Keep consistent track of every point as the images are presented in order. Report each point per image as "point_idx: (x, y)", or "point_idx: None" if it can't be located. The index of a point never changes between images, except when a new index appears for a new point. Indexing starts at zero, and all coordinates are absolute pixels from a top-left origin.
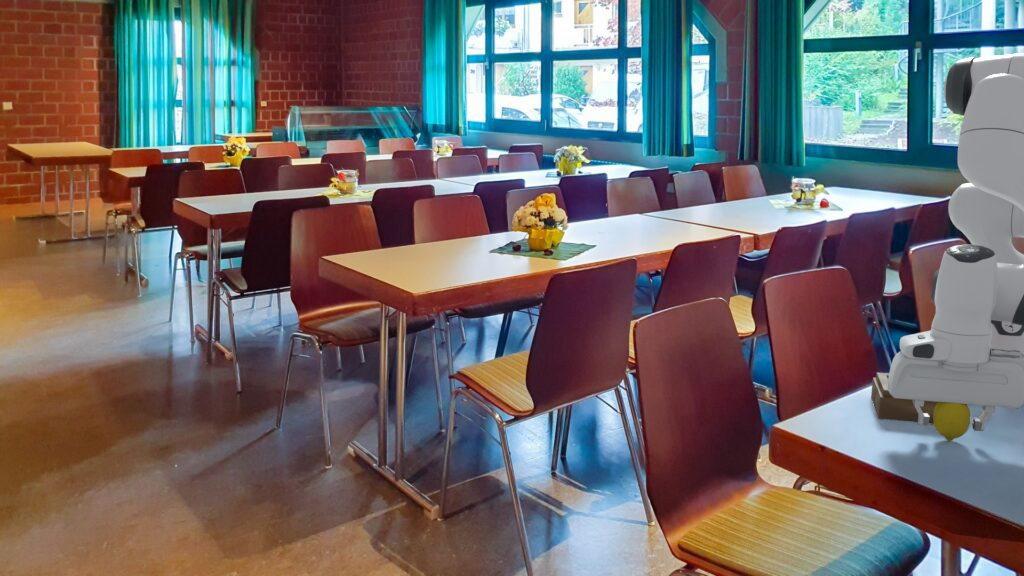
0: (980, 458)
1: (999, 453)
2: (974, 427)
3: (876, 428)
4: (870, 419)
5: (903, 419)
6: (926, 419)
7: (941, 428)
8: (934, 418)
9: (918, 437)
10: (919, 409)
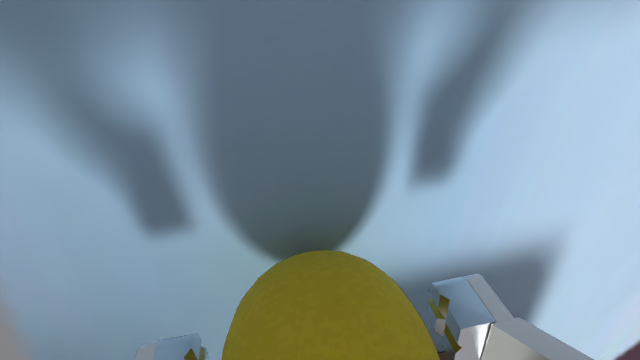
0: (138, 91)
1: (56, 218)
2: (194, 350)
3: (564, 258)
4: (547, 320)
5: (446, 357)
6: (468, 309)
7: (377, 271)
8: (427, 331)
9: (430, 243)
10: (557, 356)
